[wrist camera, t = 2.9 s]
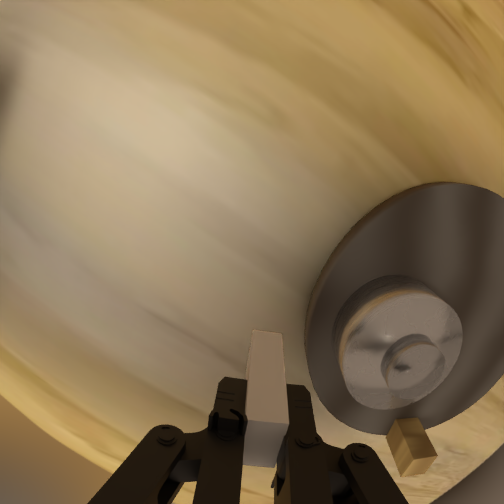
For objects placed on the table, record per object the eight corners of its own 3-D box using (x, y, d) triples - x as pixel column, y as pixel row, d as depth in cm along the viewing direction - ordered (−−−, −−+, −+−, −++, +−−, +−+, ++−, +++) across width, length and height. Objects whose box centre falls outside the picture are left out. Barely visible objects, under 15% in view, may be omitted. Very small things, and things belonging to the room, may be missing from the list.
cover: (319, 372, 22) (332, 426, 16) (347, 266, 19) (376, 303, 14) (414, 375, 22) (442, 421, 16) (448, 281, 19) (493, 314, 14)
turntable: (278, 420, 25) (282, 482, 19) (337, 150, 19) (373, 143, 13) (471, 414, 26) (498, 454, 19) (546, 215, 20) (598, 232, 13)
